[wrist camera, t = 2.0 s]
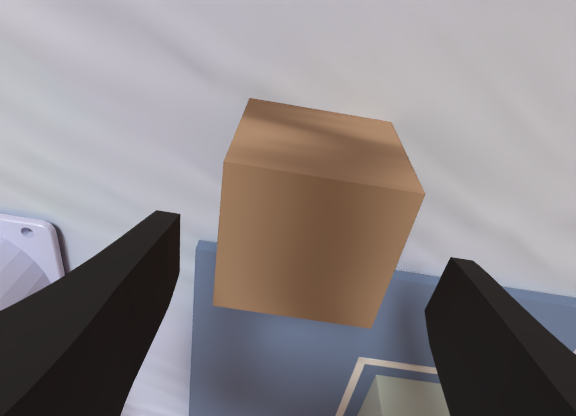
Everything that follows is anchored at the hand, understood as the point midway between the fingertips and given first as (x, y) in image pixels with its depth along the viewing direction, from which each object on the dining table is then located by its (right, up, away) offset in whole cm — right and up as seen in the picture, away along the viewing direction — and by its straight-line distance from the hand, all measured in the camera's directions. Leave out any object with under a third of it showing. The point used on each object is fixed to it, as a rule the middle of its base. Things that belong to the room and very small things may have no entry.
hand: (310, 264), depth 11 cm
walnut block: (0, +3, +5) cm, 5 cm away
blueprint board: (+3, -8, +11) cm, 14 cm away
